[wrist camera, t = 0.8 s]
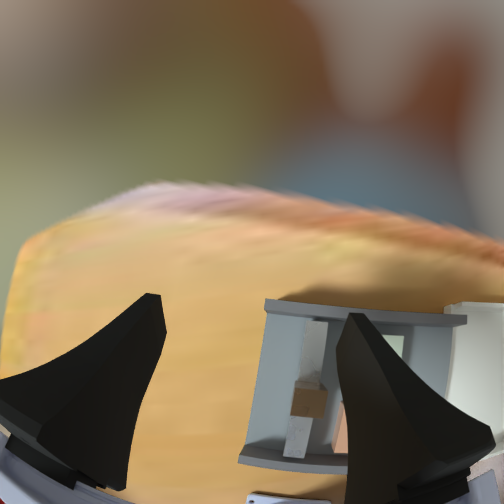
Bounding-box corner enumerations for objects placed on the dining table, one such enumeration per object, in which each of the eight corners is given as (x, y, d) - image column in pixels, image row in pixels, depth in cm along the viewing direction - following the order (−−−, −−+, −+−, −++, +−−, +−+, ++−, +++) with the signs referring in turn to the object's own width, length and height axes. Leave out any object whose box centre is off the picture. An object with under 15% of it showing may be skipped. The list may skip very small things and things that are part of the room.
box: (501, 443, 15) (515, 448, 12) (417, 462, 17) (429, 473, 14) (520, 309, 20) (535, 304, 17) (443, 306, 22) (458, 301, 19)
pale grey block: (306, 451, 18) (308, 479, 13) (281, 448, 18) (276, 476, 13) (328, 324, 21) (338, 317, 16) (303, 321, 21) (306, 314, 16)
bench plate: (420, 454, 17) (439, 469, 13) (246, 448, 21) (236, 467, 16) (443, 317, 22) (467, 309, 17) (271, 302, 25) (266, 293, 21)
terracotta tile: (376, 445, 17) (382, 452, 15) (330, 444, 18) (333, 452, 16) (385, 402, 18) (393, 406, 17) (340, 401, 19) (344, 406, 17)
